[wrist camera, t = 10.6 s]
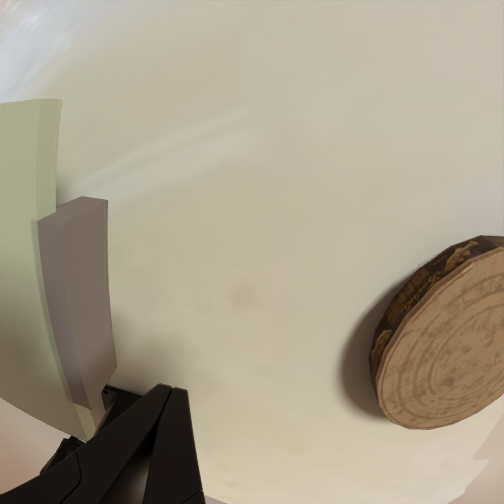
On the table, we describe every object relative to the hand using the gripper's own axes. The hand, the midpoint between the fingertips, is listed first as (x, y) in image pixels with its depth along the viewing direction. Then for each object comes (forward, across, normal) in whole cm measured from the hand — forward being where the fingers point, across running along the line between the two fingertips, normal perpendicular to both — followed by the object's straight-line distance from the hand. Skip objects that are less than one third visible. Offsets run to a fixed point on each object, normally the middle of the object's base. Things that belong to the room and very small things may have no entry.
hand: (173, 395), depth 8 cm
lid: (+4, +10, 0) cm, 11 cm away
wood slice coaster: (+11, -18, +3) cm, 21 cm away
